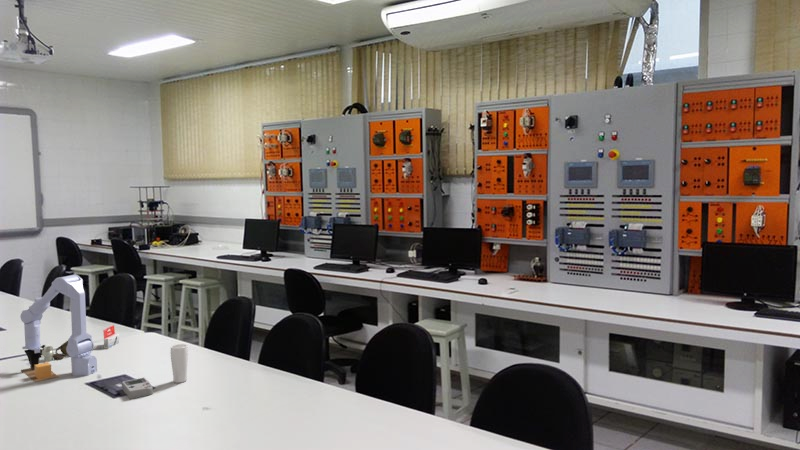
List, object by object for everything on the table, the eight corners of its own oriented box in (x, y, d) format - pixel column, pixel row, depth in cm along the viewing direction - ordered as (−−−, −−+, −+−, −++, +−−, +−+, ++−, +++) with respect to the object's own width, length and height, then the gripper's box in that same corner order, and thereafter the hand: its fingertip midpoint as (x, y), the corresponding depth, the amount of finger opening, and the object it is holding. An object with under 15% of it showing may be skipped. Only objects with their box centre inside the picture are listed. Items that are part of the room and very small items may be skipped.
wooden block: (59, 379, 249) (58, 363, 248) (35, 384, 243) (34, 368, 242) (44, 367, 266) (43, 352, 265) (20, 372, 259) (20, 356, 259)
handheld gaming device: (129, 400, 225) (129, 390, 225) (121, 389, 237) (121, 380, 237) (153, 395, 230) (153, 386, 230) (144, 385, 242) (144, 376, 242)
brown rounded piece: (85, 343, 288) (72, 336, 292) (59, 347, 277) (47, 340, 281) (82, 357, 288) (70, 350, 293) (57, 361, 277) (44, 354, 282)
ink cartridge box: (119, 343, 308) (118, 324, 307) (108, 349, 297) (107, 330, 296) (114, 343, 308) (113, 325, 307) (103, 349, 297) (102, 330, 296)
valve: (58, 359, 279) (46, 355, 286) (57, 346, 278) (46, 342, 285) (43, 363, 273) (32, 359, 280) (42, 349, 273) (31, 345, 280)
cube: (51, 376, 250) (50, 364, 250) (38, 378, 247) (37, 367, 246) (48, 373, 254) (47, 362, 253) (35, 376, 250) (34, 364, 250)
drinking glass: (191, 380, 246) (190, 345, 245) (176, 385, 241) (175, 349, 240) (184, 377, 251) (182, 343, 250) (168, 381, 246) (167, 346, 245)
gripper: (17, 334, 262) (19, 364, 263) (26, 340, 252) (27, 371, 252) (36, 331, 267) (37, 361, 268) (44, 337, 257) (46, 367, 257)
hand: (34, 365), depth 260 cm, fingers closed on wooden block, 2 cm apart
